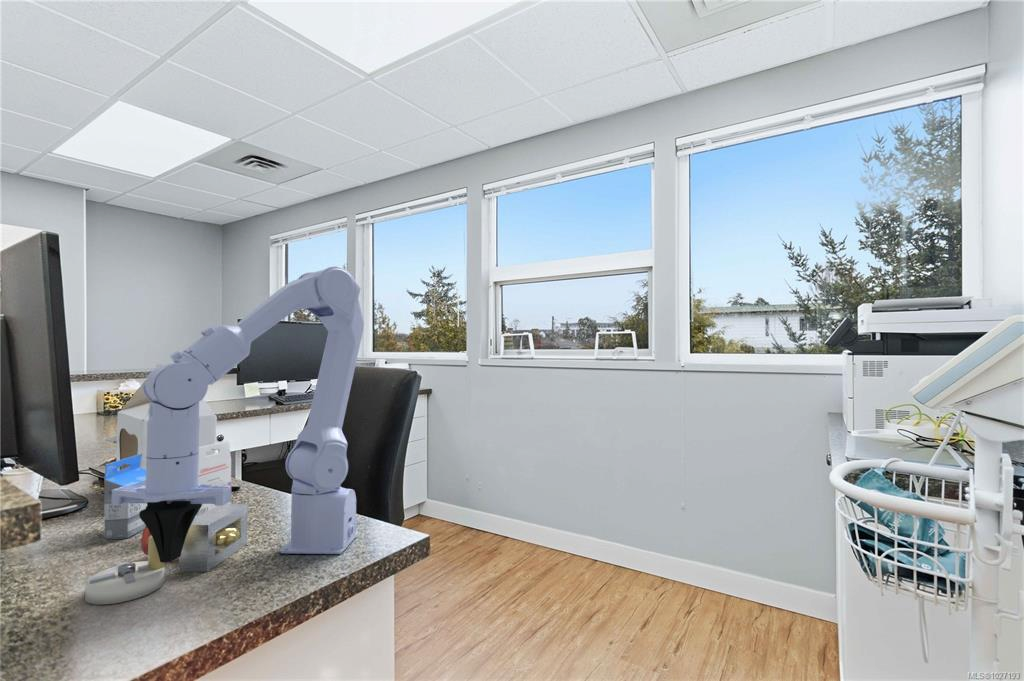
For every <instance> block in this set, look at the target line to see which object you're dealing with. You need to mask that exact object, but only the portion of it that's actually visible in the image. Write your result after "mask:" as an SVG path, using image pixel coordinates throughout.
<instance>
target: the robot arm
mask: <svg viewBox="0 0 1024 681" xmlns="http://www.w3.org/2000/svg"><path fill="white" fill-rule="evenodd" d="M360 293H361V287H360V285H359V284H358V283H357V281H356V280H355V278H354V277H353V275H352V274H351V273H350V272H349V271H348V270H347V269H346V268H344V267H341V266H329V267H327V268H324V269H321V270H318V271H314V272H305V273H303V274H301V275H300V276H299V277H298V278H296V279H294V280H292V281H289V282H287V283H285V285H283V286H282V287H281V288H279V289H278V290H277V291H275V292H274V293H273V294H271V295H270V296H269V297H268V298H267V299H266V300H264V301H262V302H261V303H260V304H259V305H258V306H257V307H255V308H254V309H253V310H251V311H250V312H249V313H248V314H246V316H244V317H243V318H242V319H241V320H239V321H238V322H237V323H235V324H234V325H226V324H219V325H216V327H212V326H208V327H206V328H205V329H204V330H202V331H200V334H201V335H202V337H201V338H199V339H198V340H196V341H195V342H194V343H192V344H191V345H190V346H188V347H187V348H186V349H184V350H183V351H181V352H180V351H175V352H173V353H172V354H171V355H170V358H171V359H172V361H173V363H166V364H160V365H161V366H159V367H157V368H156V367H155V368H154V369H153V370H151V371H150V372H149V373H148V375H147V379H145V381H146V382H145V381H144V382H145V384H144V385H143V391H144V394H145V396H146V397H147V398H148V399H149V400H150V401H151V402H149V411H148V412H149V420H148V422H147V453H146V485H141V486H123V487H120V488H117V489H113V490H112V502H111V504H112V505H120V504H123V503H147V506H146V509H144V510H142V511H140V513H139V517H140V519H141V520H142V521H143V522H144V523H145V525H146V526H147V528H148V529H149V531H150V533H151V535H152V537H153V540H154V542H155V545H156V548H157V552H158V555H159V559H160V562H166V563H172V562H174V561H176V560H177V559H179V557H180V556H181V552H182V549H183V545H184V542H185V539H186V536H187V533H188V530H189V528H190V526H191V524H192V522H193V520H194V518H195V516H196V514H197V513H198V511H199V510H200V508H201V506H202V504H215V505H216V506H222V505H224V504H227V503H228V502H230V501H231V502H232V486H231V487H221V486H213V485H206V484H198V471H199V428H200V419H199V401H201V400H202V399H203V400H204V398H205V397H206V395H207V392H208V388H209V385H210V386H212V385H214V384H215V383H217V381H219V380H220V379H221V378H223V376H225V375H226V374H228V373H229V372H230V371H231V370H233V368H235V367H237V365H239V364H240V363H241V362H243V360H245V359H246V358H247V357H249V355H250V353H251V345H252V342H254V340H256V339H258V338H259V337H261V336H262V335H263V334H265V333H266V332H268V330H270V329H272V327H274V326H276V325H277V324H278V323H279V322H281V321H283V320H284V319H285V318H287V317H288V316H290V315H291V314H293V313H294V312H296V311H299V310H306V311H308V312H310V314H312V315H313V316H315V318H318V320H319V321H320V322H321V324H323V326H324V327H325V329H326V330H327V337H326V341H325V345H324V350H323V355H322V358H321V361H320V362H321V363H320V367H319V371H318V376H317V380H316V385H315V388H314V393H313V397H312V402H311V406H310V411H309V414H308V419H307V423H306V426H304V428H303V429H302V430H301V431H300V432H299V434H298V435H297V438H296V441H295V444H294V446H293V447H292V449H291V450H290V451H289V452H288V454H287V457H286V459H285V470H286V473H287V475H288V477H290V478H291V479H292V485H291V504H290V509H291V510H290V541H289V542H287V543H286V544H285V545H284V546H282V548H280V549H279V552H278V553H279V554H303V555H304V554H305V555H307V554H309V555H310V554H314V555H316V554H319V555H321V554H322V555H323V554H325V555H329V554H330V555H340V554H343V552H344V551H346V549H347V547H348V546H349V545H351V543H352V542H353V541H354V540H355V538H357V537H358V533H357V528H356V527H357V496H356V492H355V490H354V489H352V488H345V487H342V486H341V485H342V483H343V482H344V481H345V480H346V477H347V475H348V472H349V461H348V457H347V452H348V441H347V439H346V436H345V435H344V433H343V430H342V429H343V425H344V421H345V420H344V419H345V416H346V411H347V406H348V402H349V397H350V392H351V389H352V388H351V387H352V384H353V380H354V374H355V370H356V365H357V360H358V356H359V351H360V347H361V341H362V338H363V332H364V329H365V328H364V326H365V325H364V324H365V323H364V319H363V313H362V309H361V305H360V300H359V297H360Z"/></svg>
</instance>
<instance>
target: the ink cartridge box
mask: <svg viewBox="0 0 1024 681" xmlns="http://www.w3.org/2000/svg"><path fill="white" fill-rule="evenodd" d="M230 443H231V442H230V441H229V440H225V441H221V442H216V443H215V444H211V445H206V446H202V447H199V471H198V484H206V485H213V486H221V487H231V488H232V457H231V444H230ZM211 449H213V450H216V451H218V452H216V454H213V455H209V456H206V452H209V451H210V450H211ZM231 502H232V500H231V501H230V502H228V503H227V504H232V503H231ZM215 507H217V506H216V505H215V504H202V506H201V508H200V510H199V511H198V513H197V514H196V516H195V517H197V516H199V515H201V514H203V513H205V512H207V511H209V510H211V509H213V508H215Z"/></svg>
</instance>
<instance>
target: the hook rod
mask: <svg viewBox="0 0 1024 681" xmlns="http://www.w3.org/2000/svg"><path fill="white" fill-rule="evenodd" d="M142 531H143V532H142V533H141V534H142V535H141V540H140V541H141V542H140V545H141V550H142V552H143V553H144V554H145V555H146V556H148V538H149V537H150V536H152V535H151V533H150V531H149V529H148V528H147V526H146V527H145V529H144V530H142ZM239 537H240V533H239V529H238V528H222V529H221V530H219V531H217V532H216V545H215V546H228V545H230V544H232V543H235V542H236V541H237V540H238V539H239Z"/></svg>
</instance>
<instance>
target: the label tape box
mask: <svg viewBox="0 0 1024 681" xmlns="http://www.w3.org/2000/svg"><path fill="white" fill-rule="evenodd" d="M141 457H142V454H139V455H135V456H132V457H129V458H125V459H122V460H119V461H113V462H109V463H106V464H105V467H104V468H105V469H104V479H103V480H104V483H103V484H104V486H103V487H104V492H103V493H104V497H103V500H104V501H103V502H104V508H103V509H104V510H103V512H104V514H103V515H104V539H105V540H118V539H119V540H120V539H122V540H123V539H129V538H131V537H132V536H135V535H136V534H138V533H140V532H142V531H144V529H145V527H146V525H145V523H144V522H143V521H142V520H141V519H140V517H139V513H140V511H142V510H144V509H146V506H147V503H123V504H120V505H112V504H111V502H112V490H113V489H117V488H120V487H123V486H141V485H146V469H143V468H141V467H140V464H141ZM123 464H125V465H127V464H129V467H128V468H125V469H122V470H119V471H118V468H119V467H121V466H123Z"/></svg>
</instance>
